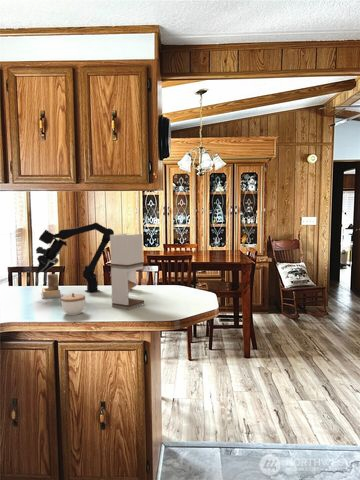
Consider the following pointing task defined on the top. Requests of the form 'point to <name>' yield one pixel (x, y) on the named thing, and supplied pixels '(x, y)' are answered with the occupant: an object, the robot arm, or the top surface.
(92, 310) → the top surface
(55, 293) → the dock
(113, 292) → the coffee grinder
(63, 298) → the lidded jar
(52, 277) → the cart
